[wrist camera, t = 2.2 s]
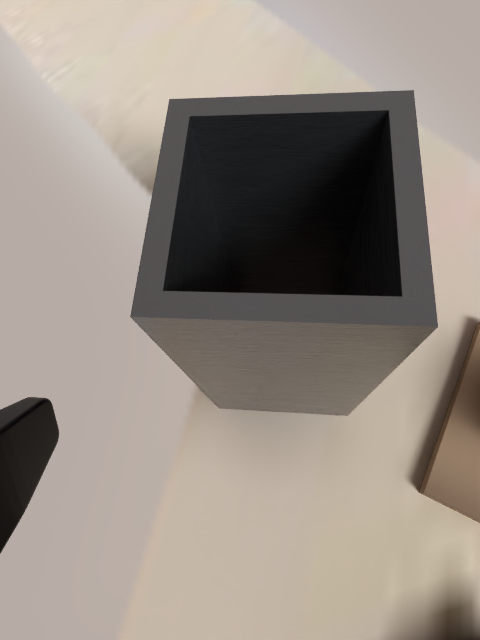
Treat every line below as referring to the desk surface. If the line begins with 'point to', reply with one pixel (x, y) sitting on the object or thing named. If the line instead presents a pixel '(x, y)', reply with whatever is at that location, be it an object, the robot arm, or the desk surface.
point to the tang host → (459, 444)
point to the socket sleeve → (288, 248)
